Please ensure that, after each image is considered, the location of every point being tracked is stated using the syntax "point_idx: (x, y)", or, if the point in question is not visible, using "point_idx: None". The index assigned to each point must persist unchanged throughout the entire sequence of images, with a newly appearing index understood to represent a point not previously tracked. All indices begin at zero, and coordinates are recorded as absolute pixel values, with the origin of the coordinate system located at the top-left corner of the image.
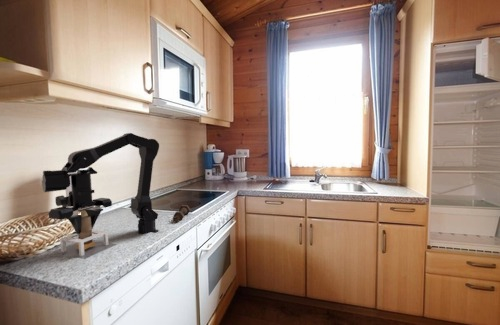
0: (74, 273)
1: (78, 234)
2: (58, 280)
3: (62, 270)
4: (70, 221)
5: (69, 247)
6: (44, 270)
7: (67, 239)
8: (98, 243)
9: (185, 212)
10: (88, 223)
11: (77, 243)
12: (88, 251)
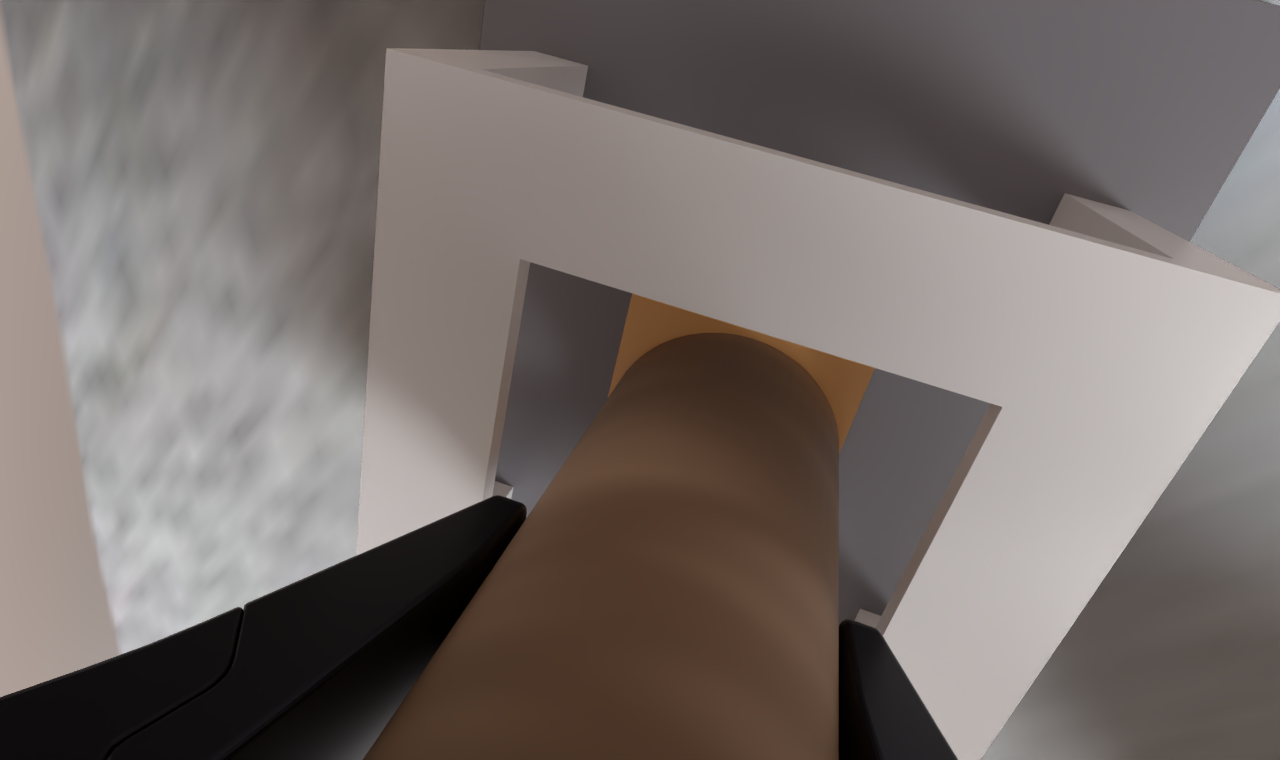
0: (242, 595)
1: (549, 485)
2: (125, 539)
3: (237, 453)
4: (7, 730)
5: (735, 41)
6: (166, 251)
7: (388, 310)
8: (942, 489)
9: None
10: None
11: (662, 310)
12: None
